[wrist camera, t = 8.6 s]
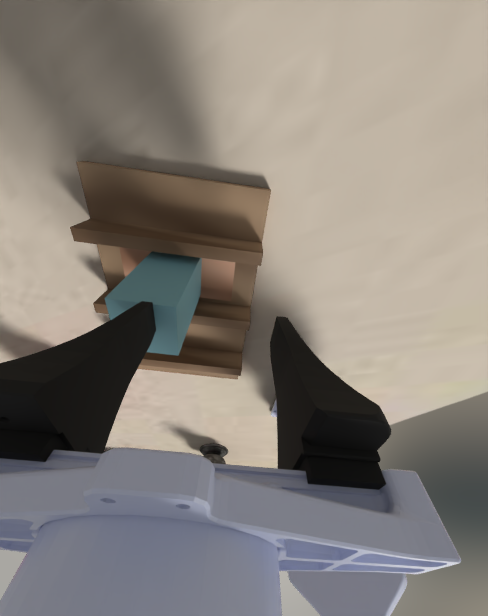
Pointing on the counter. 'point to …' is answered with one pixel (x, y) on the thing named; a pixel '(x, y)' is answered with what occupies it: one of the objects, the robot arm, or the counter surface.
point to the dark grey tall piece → (214, 453)
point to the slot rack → (181, 251)
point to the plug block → (162, 296)
